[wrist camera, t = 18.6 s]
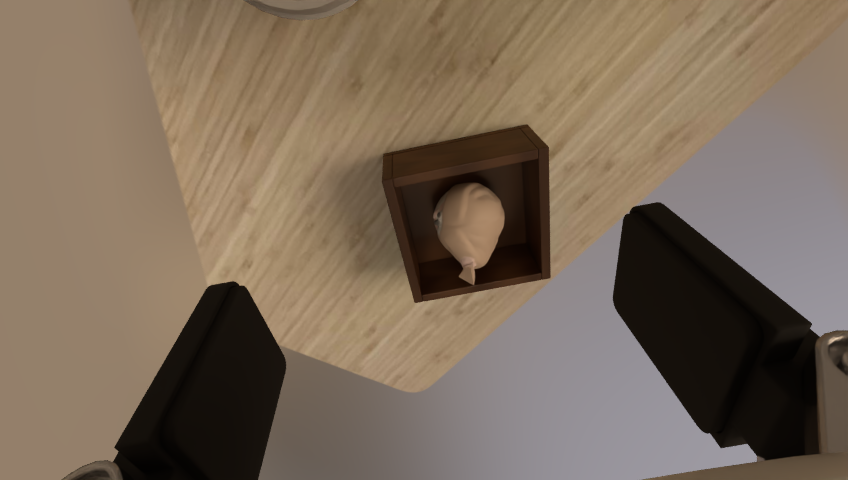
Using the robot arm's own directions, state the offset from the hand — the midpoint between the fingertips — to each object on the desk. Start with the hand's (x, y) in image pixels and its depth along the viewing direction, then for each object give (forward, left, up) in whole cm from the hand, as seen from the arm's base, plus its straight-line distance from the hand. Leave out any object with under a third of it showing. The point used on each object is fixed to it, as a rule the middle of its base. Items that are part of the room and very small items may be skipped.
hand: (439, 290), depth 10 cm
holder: (+3, -12, -25) cm, 28 cm away
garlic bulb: (+3, -12, -25) cm, 28 cm away
